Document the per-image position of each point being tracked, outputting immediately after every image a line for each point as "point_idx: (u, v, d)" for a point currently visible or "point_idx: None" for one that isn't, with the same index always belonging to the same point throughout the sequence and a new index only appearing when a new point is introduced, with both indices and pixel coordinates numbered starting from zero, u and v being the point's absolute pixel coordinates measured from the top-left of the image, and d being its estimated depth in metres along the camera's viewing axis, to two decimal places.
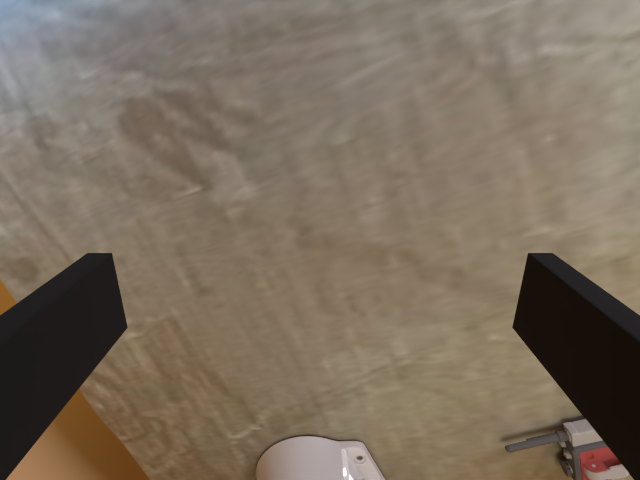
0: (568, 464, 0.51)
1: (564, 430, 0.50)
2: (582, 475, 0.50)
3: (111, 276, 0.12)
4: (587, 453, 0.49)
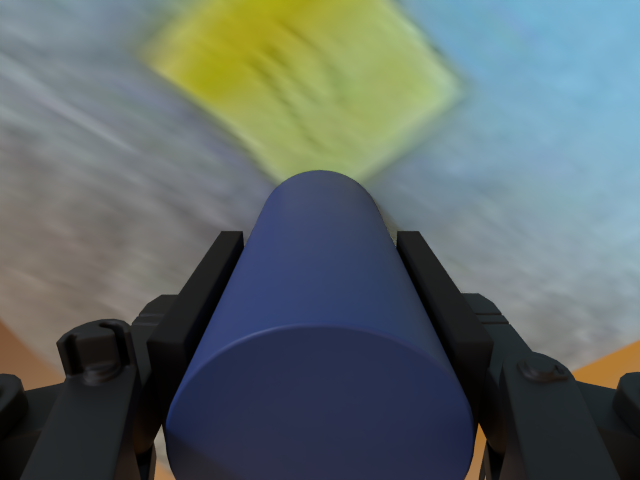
0: None
1: None
2: None
3: (242, 251, 0.14)
4: None
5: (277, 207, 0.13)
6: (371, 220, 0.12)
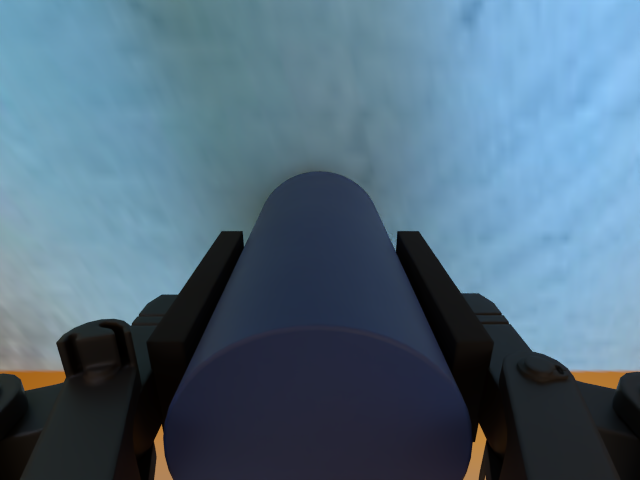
0: None
1: None
2: None
3: None
4: None
5: (276, 209, 0.13)
6: (370, 222, 0.12)
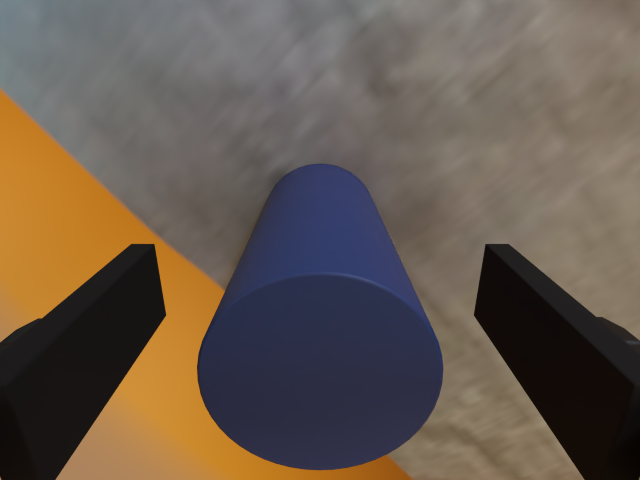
0: None
1: None
2: None
3: (154, 266, 0.13)
4: None
5: (282, 194, 0.15)
6: (364, 205, 0.14)
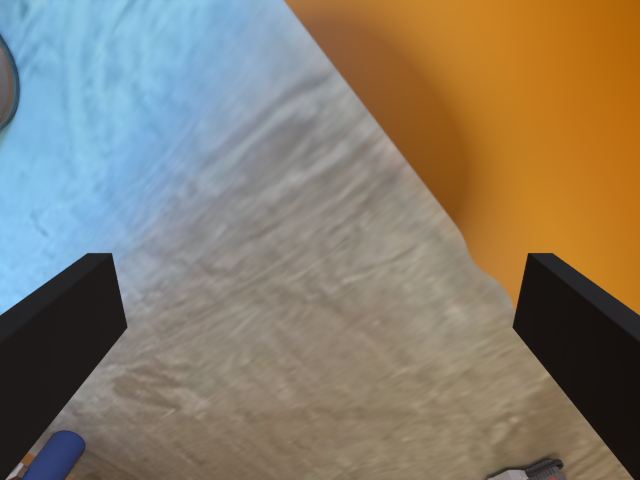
0: None
1: None
2: None
3: (111, 276, 0.12)
4: None
5: (37, 455, 0.60)
6: (53, 462, 0.59)
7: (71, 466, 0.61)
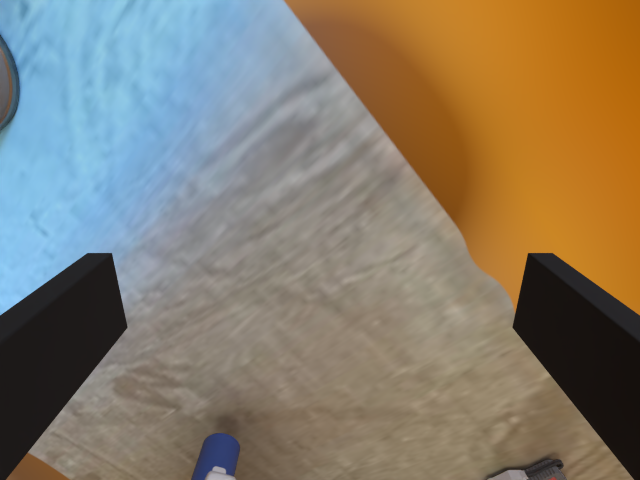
0: None
1: None
2: None
3: (111, 276, 0.12)
4: None
5: (222, 460, 0.54)
6: None
7: None
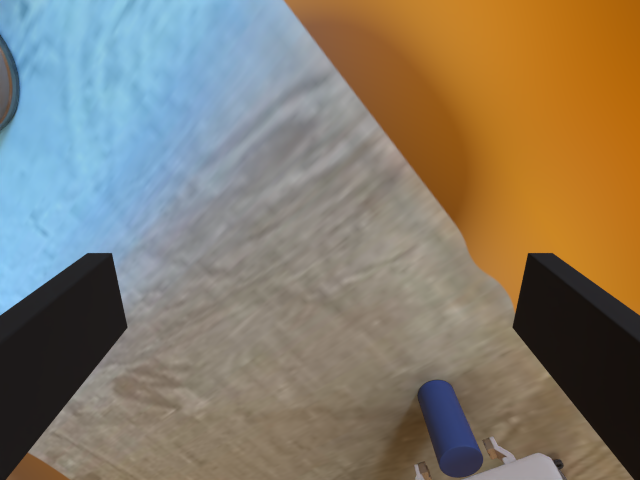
0: None
1: None
2: None
3: (111, 276, 0.12)
4: None
5: (462, 410, 0.56)
6: None
7: None
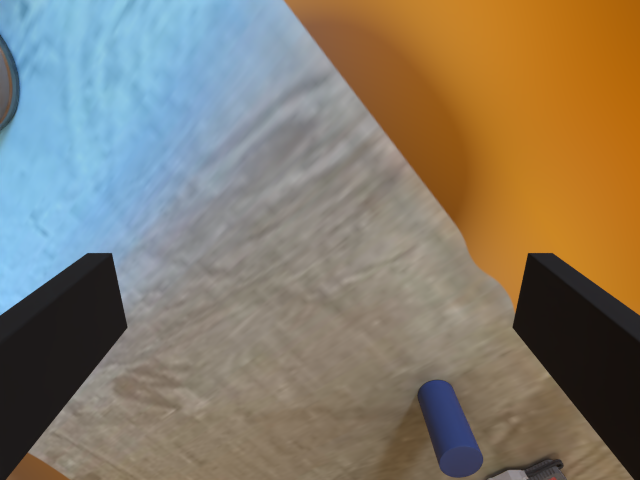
0: None
1: None
2: None
3: (111, 276, 0.12)
4: None
5: (462, 410, 0.56)
6: None
7: None
